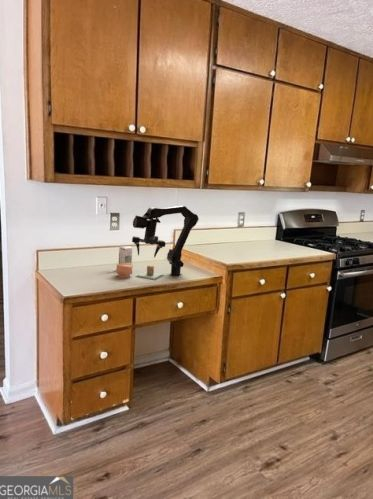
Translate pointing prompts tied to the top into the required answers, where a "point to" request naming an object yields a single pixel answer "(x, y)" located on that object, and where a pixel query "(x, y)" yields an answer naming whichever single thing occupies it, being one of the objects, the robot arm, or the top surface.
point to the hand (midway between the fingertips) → (146, 256)
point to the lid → (150, 273)
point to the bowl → (124, 270)
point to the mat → (151, 279)
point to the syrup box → (125, 255)
